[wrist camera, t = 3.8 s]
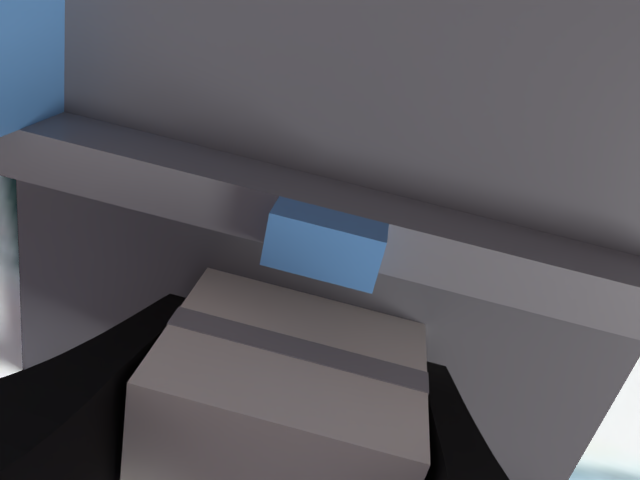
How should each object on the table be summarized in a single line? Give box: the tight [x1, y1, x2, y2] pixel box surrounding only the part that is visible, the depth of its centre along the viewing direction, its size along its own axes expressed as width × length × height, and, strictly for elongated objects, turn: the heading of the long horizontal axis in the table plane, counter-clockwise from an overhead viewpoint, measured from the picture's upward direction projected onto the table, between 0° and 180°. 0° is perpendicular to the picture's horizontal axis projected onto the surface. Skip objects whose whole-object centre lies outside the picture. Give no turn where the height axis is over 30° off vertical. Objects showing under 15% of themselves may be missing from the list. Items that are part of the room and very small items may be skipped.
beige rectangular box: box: [120, 268, 430, 480], centre depth 11 cm, size 5×3×4 cm, turn 78°
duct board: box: [0, 0, 640, 480], centre depth 11 cm, size 14×16×3 cm
